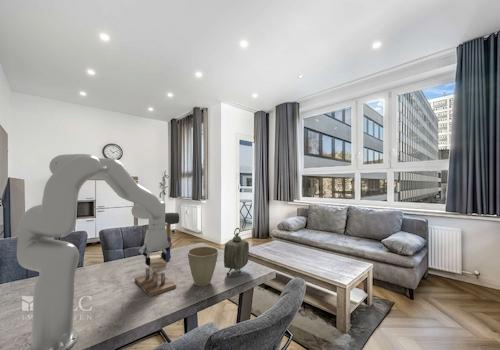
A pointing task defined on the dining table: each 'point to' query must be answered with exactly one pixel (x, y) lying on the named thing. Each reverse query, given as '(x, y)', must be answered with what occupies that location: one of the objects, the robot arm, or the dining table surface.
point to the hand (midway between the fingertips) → (155, 262)
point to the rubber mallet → (169, 219)
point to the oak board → (157, 262)
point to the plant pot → (202, 264)
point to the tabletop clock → (236, 253)
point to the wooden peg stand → (154, 282)
